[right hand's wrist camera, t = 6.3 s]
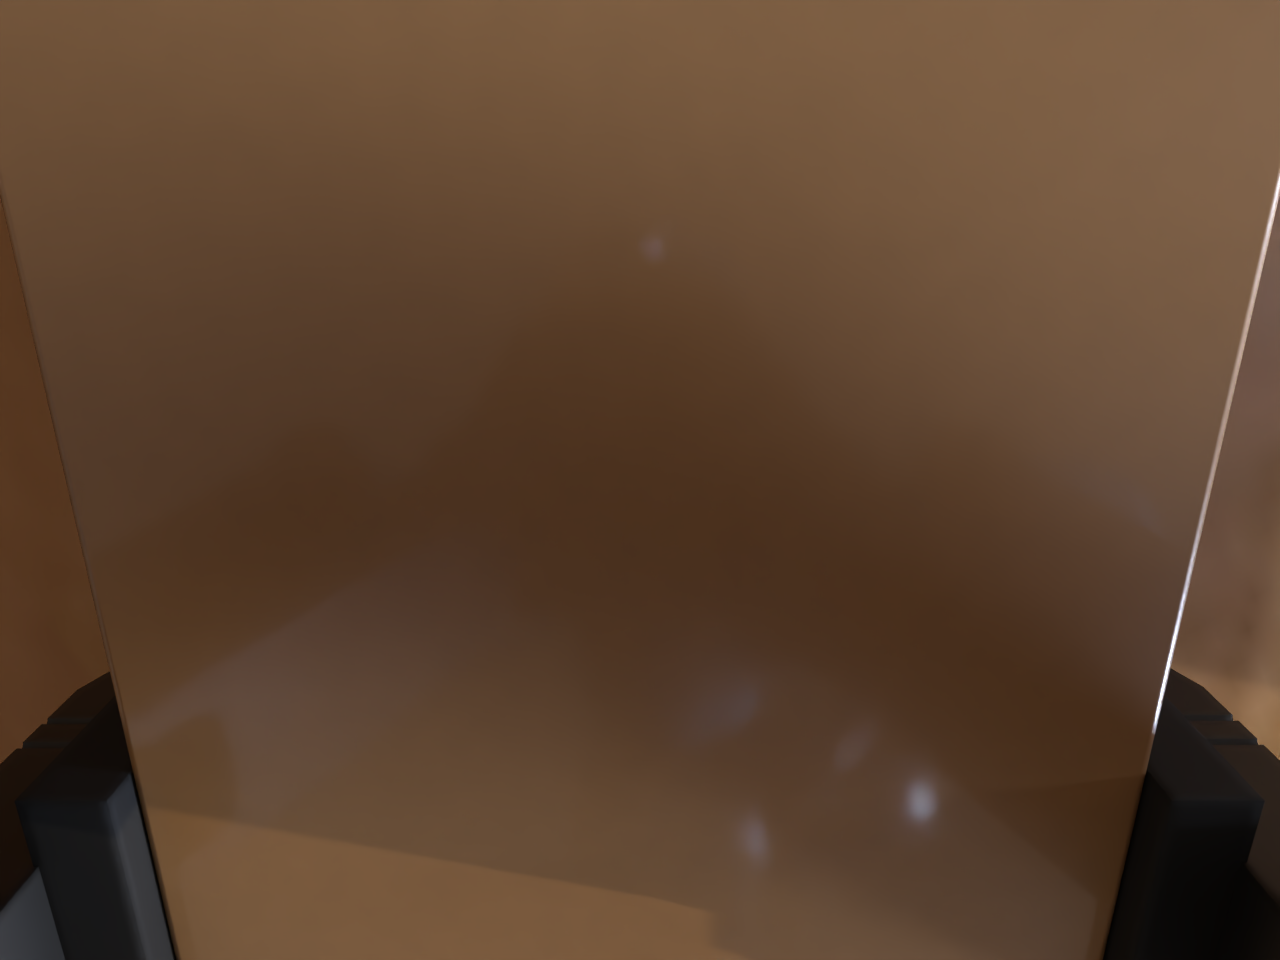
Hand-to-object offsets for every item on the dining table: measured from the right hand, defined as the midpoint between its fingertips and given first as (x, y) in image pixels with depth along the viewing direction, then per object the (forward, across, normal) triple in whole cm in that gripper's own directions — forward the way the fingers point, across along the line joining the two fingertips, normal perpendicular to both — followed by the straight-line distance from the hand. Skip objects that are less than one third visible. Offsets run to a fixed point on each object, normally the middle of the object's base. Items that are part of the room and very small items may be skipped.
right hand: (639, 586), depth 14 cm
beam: (0, 0, -34) cm, 34 cm away
